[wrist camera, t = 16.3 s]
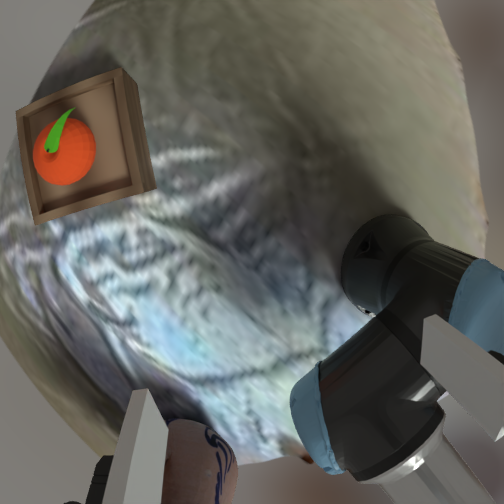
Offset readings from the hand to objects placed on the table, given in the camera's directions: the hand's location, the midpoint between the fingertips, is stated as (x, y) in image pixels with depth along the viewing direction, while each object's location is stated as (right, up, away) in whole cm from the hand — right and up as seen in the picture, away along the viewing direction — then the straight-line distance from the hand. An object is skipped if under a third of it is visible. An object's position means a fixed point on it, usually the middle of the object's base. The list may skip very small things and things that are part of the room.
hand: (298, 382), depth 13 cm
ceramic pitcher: (-15, -25, +35) cm, 45 cm away
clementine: (-21, +17, +17) cm, 32 cm away
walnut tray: (-22, +19, +22) cm, 37 cm away
